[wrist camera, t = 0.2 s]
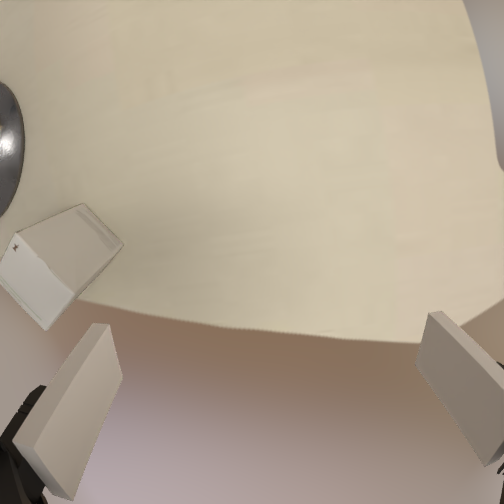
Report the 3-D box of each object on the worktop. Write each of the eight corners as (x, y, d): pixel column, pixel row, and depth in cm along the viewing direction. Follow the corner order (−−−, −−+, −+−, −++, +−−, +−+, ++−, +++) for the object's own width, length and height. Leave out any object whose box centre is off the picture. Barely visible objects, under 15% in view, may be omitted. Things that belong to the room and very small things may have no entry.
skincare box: (59, 234, 38) (-11, 274, 23) (85, 199, 37) (13, 227, 22) (100, 277, 40) (44, 335, 25) (128, 244, 39) (74, 295, 24)
